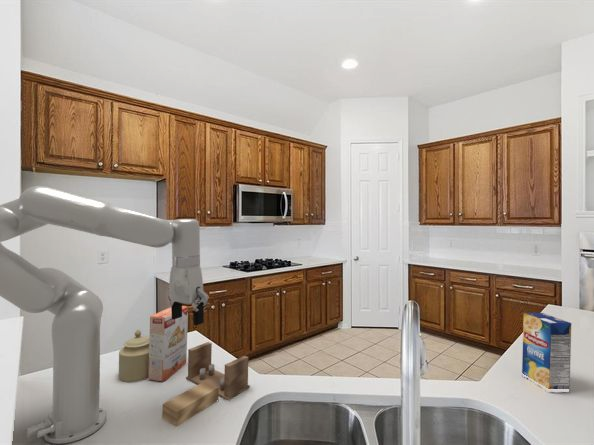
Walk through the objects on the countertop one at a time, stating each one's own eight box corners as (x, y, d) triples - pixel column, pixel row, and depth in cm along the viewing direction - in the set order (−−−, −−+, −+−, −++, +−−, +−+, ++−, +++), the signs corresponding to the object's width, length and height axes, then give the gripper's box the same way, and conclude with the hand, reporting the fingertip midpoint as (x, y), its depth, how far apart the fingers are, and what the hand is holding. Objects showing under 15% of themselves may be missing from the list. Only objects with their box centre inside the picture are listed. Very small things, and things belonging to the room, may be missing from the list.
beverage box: (549, 393, 98) (550, 323, 97) (521, 375, 109) (523, 312, 108) (569, 393, 98) (571, 323, 98) (540, 375, 109) (542, 312, 109)
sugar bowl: (129, 362, 113) (130, 320, 113) (162, 360, 115) (162, 319, 115) (112, 383, 98) (113, 336, 98) (150, 381, 100) (150, 334, 100)
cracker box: (164, 382, 99) (165, 317, 99) (147, 380, 100) (148, 315, 100) (187, 363, 113) (189, 305, 113) (172, 361, 114) (174, 304, 114)
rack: (227, 400, 90) (228, 367, 90) (185, 378, 102) (186, 349, 102) (249, 387, 97) (250, 356, 97) (208, 368, 109) (208, 341, 109)
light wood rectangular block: (176, 427, 79) (177, 411, 79) (162, 419, 82) (162, 404, 82) (218, 401, 90) (218, 387, 90) (204, 394, 94) (204, 381, 94)
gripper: (156, 261, 91) (157, 319, 92) (195, 266, 82) (196, 331, 82) (179, 258, 97) (180, 312, 98) (217, 262, 88) (218, 322, 88)
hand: (187, 321), depth 90 cm, fingers open, 9 cm apart
